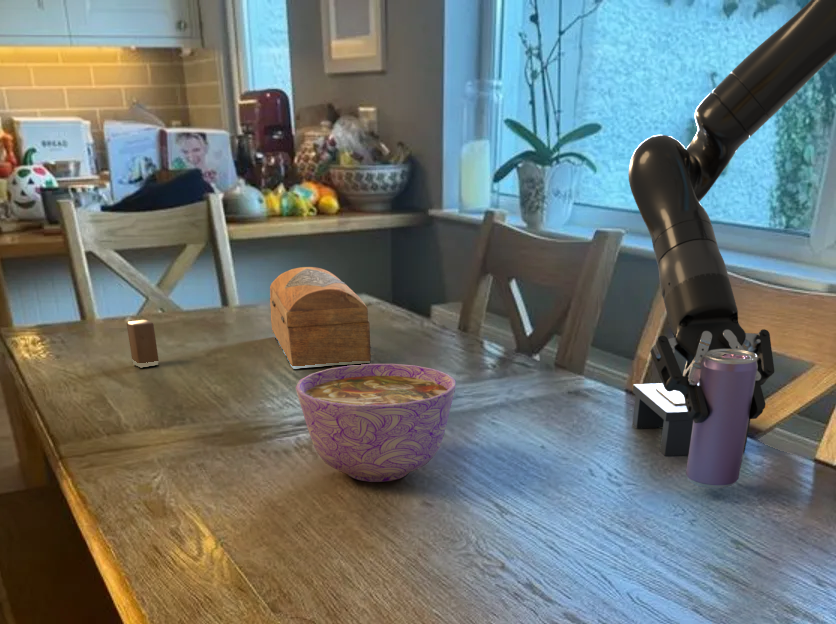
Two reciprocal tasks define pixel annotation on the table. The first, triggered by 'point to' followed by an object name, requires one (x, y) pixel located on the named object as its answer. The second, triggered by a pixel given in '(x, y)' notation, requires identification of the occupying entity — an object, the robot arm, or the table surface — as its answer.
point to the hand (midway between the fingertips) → (729, 417)
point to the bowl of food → (376, 417)
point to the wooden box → (318, 318)
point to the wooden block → (142, 341)
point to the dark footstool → (665, 417)
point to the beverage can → (722, 418)
